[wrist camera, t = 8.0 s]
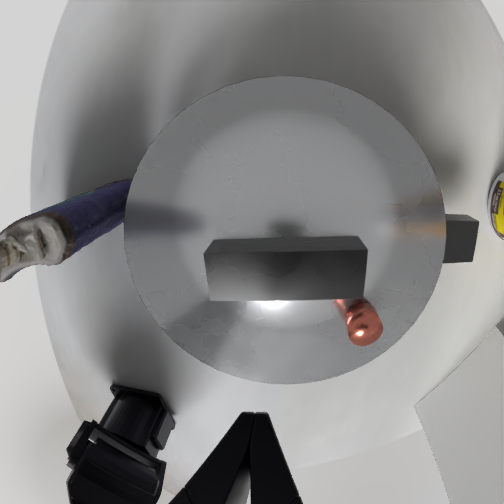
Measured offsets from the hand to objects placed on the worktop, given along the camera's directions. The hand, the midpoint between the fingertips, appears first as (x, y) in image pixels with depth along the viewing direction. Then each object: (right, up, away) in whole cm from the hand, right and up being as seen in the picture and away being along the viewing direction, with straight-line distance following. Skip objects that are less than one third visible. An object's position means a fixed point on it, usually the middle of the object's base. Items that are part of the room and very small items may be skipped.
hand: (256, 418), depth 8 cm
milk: (+25, -9, +14) cm, 30 cm away
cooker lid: (+1, +5, +5) cm, 8 cm away
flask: (-11, +9, +11) cm, 18 cm away
